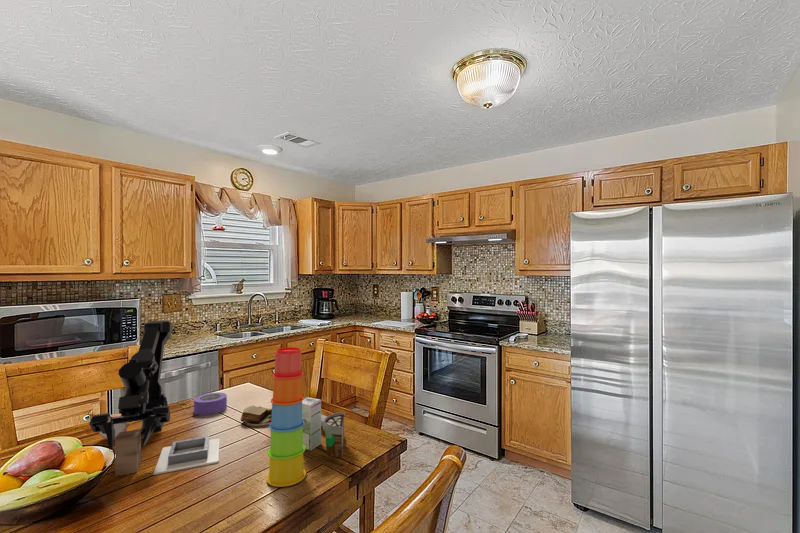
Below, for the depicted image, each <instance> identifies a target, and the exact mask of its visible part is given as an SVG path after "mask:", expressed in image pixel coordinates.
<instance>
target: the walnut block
mask: <svg viewBox="0 0 800 533" xmlns="http://www.w3.org/2000/svg"><path fill="white" fill-rule="evenodd" d="M141 439H142V433H141V428H139V429H133V430H126V431H125V432H120V433H119V434H118V436H117V437H116V439H114V455H115V454H116V459H115V458H114V477H118V476H117V475H120V476H125V475H130V473H131V474H134V473H135V472H136V473H138V471H139V468H140V466H141V464H142V463H141V462H142V461H141V460H142V456H141V455H142V451H141V450H142V440H141ZM136 473H135V474H136ZM124 474H125V475H124Z"/></svg>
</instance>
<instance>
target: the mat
mask: <svg viewBox="0 0 800 533" xmlns="http://www.w3.org/2000/svg"><path fill="white" fill-rule="evenodd" d="M220 440H221V438H212V439H209V450H208V458H207V459H201V460H196V461H190V462H185V463H179V464H174V465H168V455H169V452H170V449H171V446H172V445H171V446H165V447H162V449H161V452H160V455H159V458H158V460H157V462H156V466H155V468H154V472H153V476H154V475H160V474H165V473H171V472H177V471H183V470H187V469H193V468H197V467H204V466H208V465H214V464H219V463H220V462H219V460H220V442H221V441H220ZM201 449H204V446H201V447H195V448H189V449H183V450H178V451H176V453H175V454H178V453H184V452H190V451H195V450H201Z"/></svg>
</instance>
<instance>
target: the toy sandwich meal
mask: <svg viewBox="0 0 800 533" xmlns="http://www.w3.org/2000/svg"><path fill="white" fill-rule="evenodd" d="M240 422H244V423H245V424H246V425H247V426H250V427H253V428H261V427H264V428H265V427H267V426H268V427H269V425H270V424H271V423H272V408H267V407H262V406H255V405H250V406H248V407H246V408H244V409H243V411H242V414H241V417H240Z"/></svg>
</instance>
